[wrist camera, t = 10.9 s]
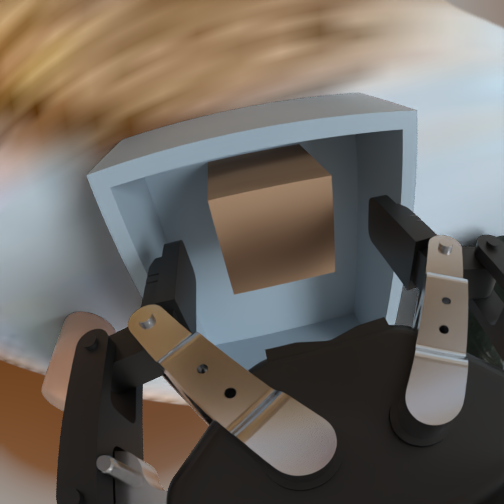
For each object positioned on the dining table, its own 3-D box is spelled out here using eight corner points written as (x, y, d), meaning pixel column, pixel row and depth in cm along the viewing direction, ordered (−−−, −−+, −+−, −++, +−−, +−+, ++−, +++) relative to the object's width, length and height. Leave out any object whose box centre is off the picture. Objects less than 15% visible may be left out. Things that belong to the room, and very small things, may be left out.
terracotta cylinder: (53, 316, 22) (29, 383, 16) (100, 307, 22) (79, 382, 16) (82, 352, 25) (67, 417, 19) (127, 347, 25) (116, 417, 19)
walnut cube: (207, 162, 16) (207, 200, 12) (298, 143, 16) (331, 175, 12) (227, 239, 19) (234, 294, 15) (307, 222, 19) (334, 271, 15)
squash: (562, 264, 20) (607, 341, 9) (491, 356, 28) (490, 450, 17) (476, 196, 25) (502, 243, 14) (411, 303, 33) (385, 390, 22)
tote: (122, 139, 15) (86, 175, 10) (358, 92, 15) (417, 110, 11) (203, 345, 25) (206, 404, 21) (358, 309, 25) (385, 361, 21)
